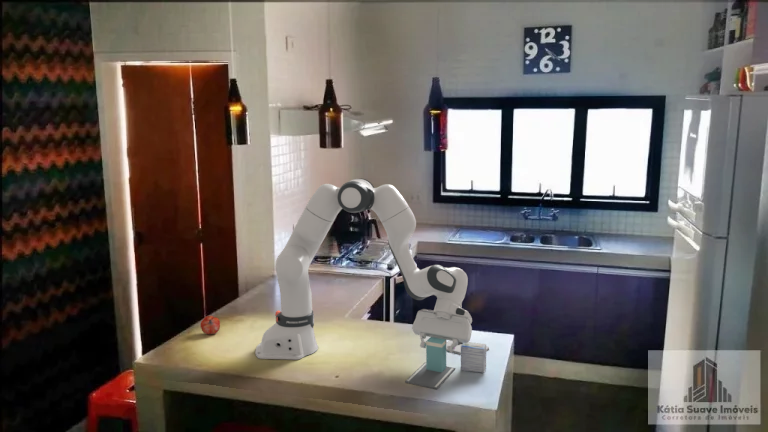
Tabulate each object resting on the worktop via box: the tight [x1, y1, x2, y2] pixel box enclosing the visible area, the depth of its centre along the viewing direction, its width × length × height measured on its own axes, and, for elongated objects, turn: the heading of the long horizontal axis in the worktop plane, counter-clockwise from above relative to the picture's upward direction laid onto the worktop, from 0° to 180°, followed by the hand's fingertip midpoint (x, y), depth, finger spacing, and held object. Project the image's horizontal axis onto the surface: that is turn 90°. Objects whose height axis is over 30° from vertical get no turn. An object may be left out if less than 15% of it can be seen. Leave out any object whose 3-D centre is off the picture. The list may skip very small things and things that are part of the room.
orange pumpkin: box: [199, 315, 221, 335], centre depth 239 cm, size 7×7×10 cm
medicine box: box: [460, 341, 487, 374], centre depth 203 cm, size 8×4×9 cm, turn 71°
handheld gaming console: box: [446, 340, 490, 355], centre depth 220 cm, size 10×2×15 cm
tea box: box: [425, 337, 447, 372], centre depth 203 cm, size 4×6×10 cm
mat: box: [404, 361, 456, 390], centre depth 199 cm, size 16×11×1 cm
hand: (435, 349), depth 202 cm, fingers open, 8 cm apart
